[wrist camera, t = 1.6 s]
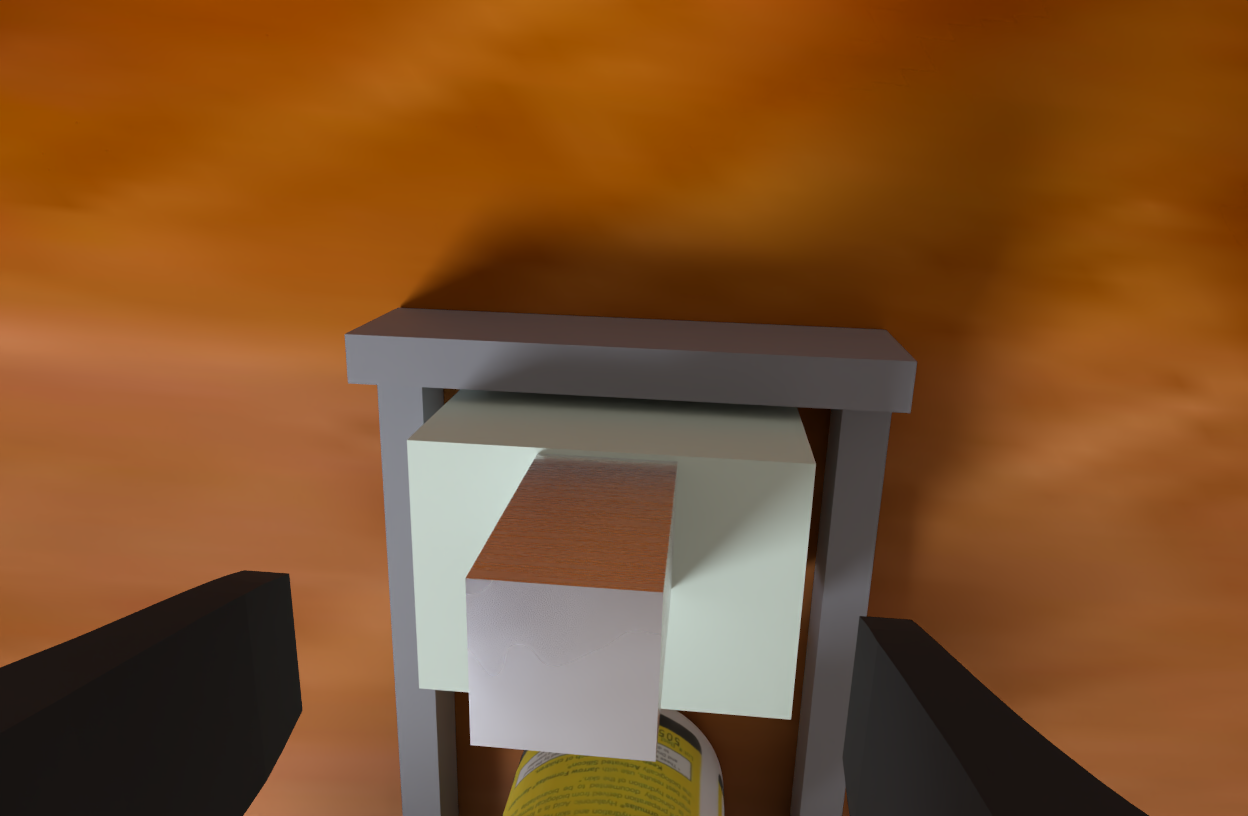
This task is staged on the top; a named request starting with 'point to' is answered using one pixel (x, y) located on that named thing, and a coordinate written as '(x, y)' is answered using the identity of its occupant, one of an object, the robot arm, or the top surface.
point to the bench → (661, 370)
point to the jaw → (607, 563)
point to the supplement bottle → (624, 779)
